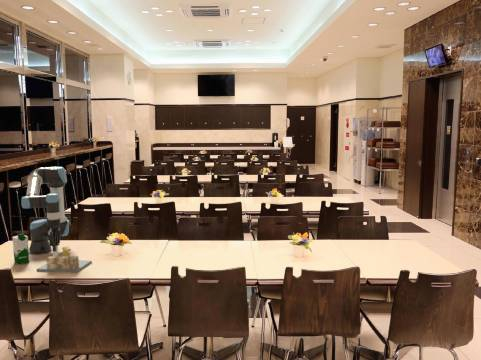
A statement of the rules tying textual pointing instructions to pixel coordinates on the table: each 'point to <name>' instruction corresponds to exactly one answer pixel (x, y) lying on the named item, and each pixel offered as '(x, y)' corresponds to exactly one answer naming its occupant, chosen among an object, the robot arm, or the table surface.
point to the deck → (65, 253)
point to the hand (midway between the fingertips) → (55, 255)
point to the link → (62, 262)
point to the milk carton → (21, 249)
